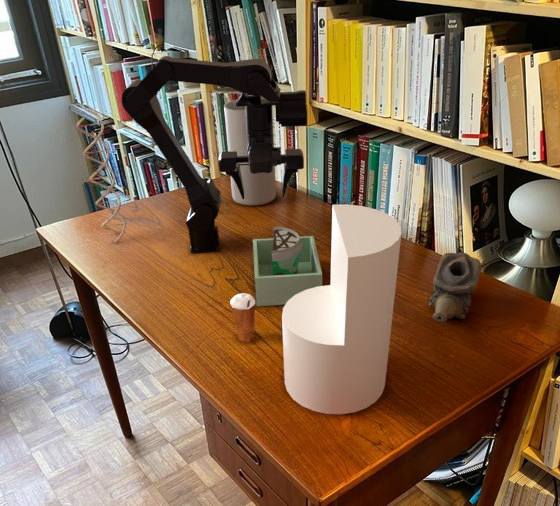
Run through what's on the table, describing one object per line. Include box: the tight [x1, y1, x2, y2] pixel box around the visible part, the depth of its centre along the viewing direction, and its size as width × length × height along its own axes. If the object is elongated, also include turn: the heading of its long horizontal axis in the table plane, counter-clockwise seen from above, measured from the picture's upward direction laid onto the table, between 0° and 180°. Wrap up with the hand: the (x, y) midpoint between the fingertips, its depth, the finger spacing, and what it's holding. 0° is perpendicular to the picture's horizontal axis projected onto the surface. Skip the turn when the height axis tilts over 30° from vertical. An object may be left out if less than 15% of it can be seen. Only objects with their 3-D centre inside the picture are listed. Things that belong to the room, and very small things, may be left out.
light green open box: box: [252, 235, 323, 307], centre depth 121 cm, size 14×18×7 cm
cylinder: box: [281, 204, 403, 415], centre depth 88 cm, size 17×17×28 cm
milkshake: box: [229, 292, 256, 343], centre depth 104 cm, size 4×5×10 cm
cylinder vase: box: [223, 99, 277, 207], centre depth 153 cm, size 12×12×25 cm
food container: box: [272, 226, 302, 276], centre depth 120 cm, size 12×6×10 cm, turn 179°
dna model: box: [74, 109, 127, 244], centre depth 135 cm, size 7×6×30 cm
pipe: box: [428, 252, 482, 324], centre depth 107 cm, size 9×22×10 cm, turn 166°
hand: (263, 197), depth 130 cm, fingers open, 9 cm apart
